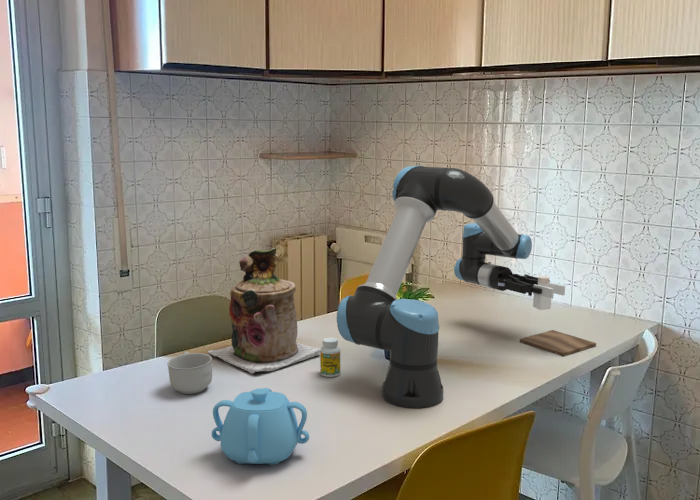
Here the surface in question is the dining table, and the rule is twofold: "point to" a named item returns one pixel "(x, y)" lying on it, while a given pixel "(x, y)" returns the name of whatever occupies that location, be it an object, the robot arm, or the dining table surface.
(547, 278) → the pepper shaker
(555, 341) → the board
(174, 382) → the teacup
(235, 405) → the decorative pot
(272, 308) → the cookie jar
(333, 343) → the supplement bottle
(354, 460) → the dining table surface
